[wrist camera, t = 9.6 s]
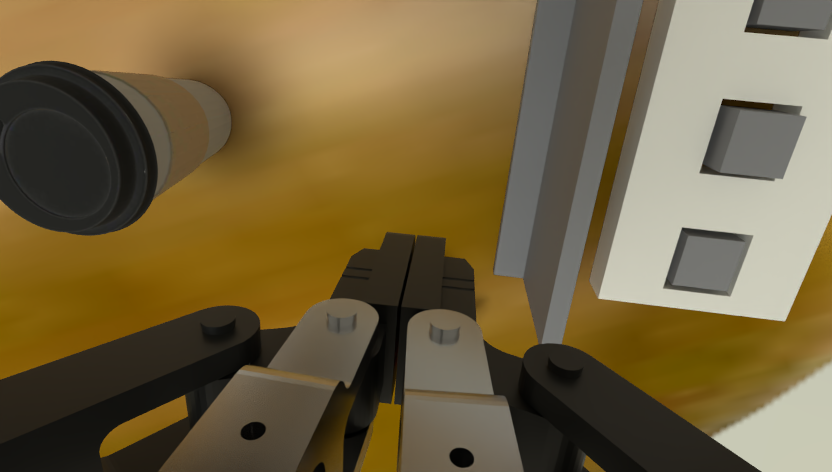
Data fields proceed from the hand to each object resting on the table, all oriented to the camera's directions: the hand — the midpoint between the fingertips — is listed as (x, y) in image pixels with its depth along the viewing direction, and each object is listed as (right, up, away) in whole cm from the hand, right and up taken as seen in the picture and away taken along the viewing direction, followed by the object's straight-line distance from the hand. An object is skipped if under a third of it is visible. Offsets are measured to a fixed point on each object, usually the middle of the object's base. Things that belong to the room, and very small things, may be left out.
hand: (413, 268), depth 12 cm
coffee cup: (-17, +10, +26) cm, 33 cm away
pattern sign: (+11, +10, +23) cm, 27 cm away
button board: (+23, +8, +23) cm, 33 cm away
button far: (+22, 0, +26) cm, 34 cm away
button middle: (+22, +8, +21) cm, 32 cm away
